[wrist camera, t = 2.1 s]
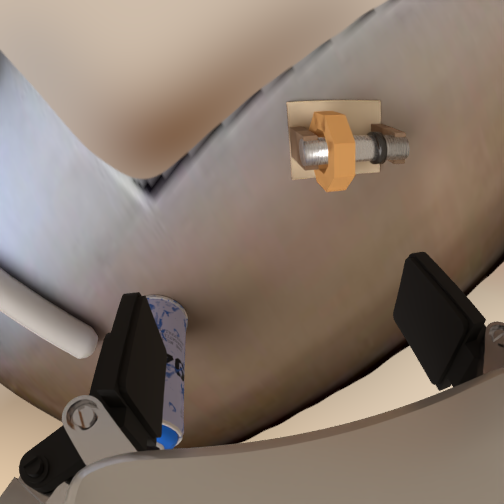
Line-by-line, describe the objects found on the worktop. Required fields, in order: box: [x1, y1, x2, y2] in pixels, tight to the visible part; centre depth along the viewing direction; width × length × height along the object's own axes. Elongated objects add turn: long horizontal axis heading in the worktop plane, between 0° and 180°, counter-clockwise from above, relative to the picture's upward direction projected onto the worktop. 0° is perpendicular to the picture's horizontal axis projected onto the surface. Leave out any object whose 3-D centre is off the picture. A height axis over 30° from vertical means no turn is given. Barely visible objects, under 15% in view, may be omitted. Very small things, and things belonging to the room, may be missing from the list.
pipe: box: [299, 132, 409, 166], centre depth 26 cm, size 3×10×3 cm, turn 96°
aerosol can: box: [146, 295, 188, 451], centre depth 31 cm, size 8×8×20 cm
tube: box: [0, 268, 98, 359], centre depth 33 cm, size 5×5×25 cm
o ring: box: [309, 111, 355, 192], centre depth 26 cm, size 7×2×7 cm, turn 6°
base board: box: [286, 100, 406, 180], centre depth 28 cm, size 8×10×6 cm
